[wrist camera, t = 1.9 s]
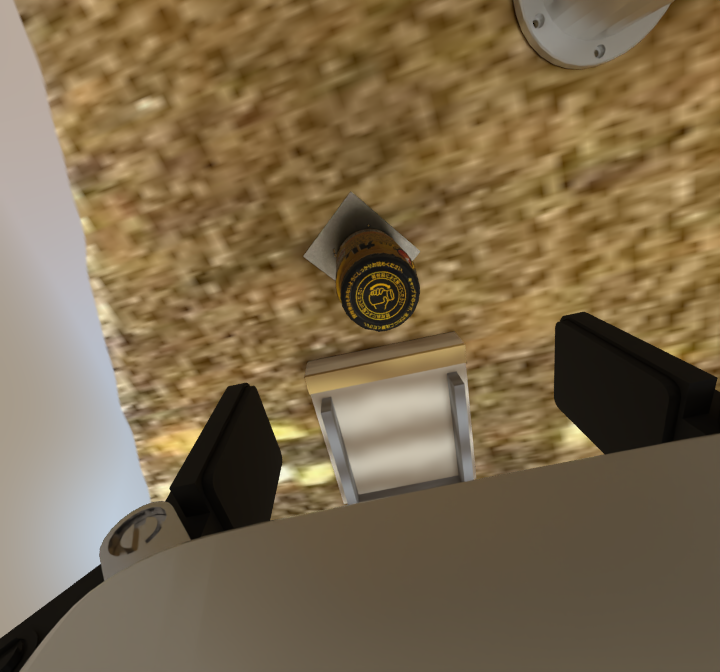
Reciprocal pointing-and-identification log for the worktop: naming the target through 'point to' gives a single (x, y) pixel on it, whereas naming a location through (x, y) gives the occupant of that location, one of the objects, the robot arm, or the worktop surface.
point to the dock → (395, 417)
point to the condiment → (368, 266)
